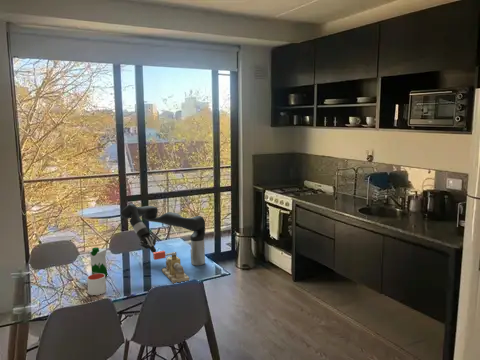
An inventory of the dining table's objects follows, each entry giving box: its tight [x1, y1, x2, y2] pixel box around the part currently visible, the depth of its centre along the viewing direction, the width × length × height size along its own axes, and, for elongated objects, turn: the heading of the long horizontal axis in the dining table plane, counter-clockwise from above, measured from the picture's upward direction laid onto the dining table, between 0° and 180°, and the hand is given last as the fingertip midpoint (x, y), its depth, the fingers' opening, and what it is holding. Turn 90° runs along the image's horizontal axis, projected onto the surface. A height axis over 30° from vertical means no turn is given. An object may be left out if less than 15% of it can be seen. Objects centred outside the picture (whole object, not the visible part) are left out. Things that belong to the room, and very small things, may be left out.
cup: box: [86, 273, 107, 296], centre depth 241 cm, size 10×10×10 cm
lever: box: [152, 250, 177, 261], centre depth 260 cm, size 3×15×4 cm, turn 118°
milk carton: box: [88, 247, 109, 278], centre depth 265 cm, size 9×9×20 cm
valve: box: [161, 255, 190, 284], centre depth 264 cm, size 24×10×14 cm, turn 28°
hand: (154, 252), depth 262 cm, fingers closed
